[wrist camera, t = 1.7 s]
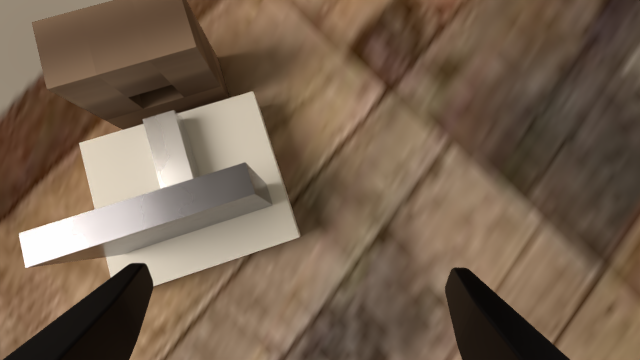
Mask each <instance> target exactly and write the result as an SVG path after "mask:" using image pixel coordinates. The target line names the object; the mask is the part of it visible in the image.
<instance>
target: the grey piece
mask: <svg viewBox="0 0 640 360" xmlns="http://www.w3.org/2000/svg"><path fill="white" fill-rule="evenodd" d="M142 120H143V124H144V127H145V131H146V135H147V139H148V142H149V146H150V150H151V154H152V157H153V161H154V165H155V169H156V172H157V176H158V180H159V184H160V188H161V189H159V190H155V191H152V192H149V193H146V194H143V195H140V196H136V197H133V198H130V199H127V200H124V201H120V202H117V203H114V204H111V205H108V206H105V207H101V208H98V209H95V210H92V211H89V212H85V213H82V214H79V215H76V216H73V217H70V218H66V219H63V220H60V221H57V222H54V223H51V224H47V225H44V226H41V227H38V228H35V229H31V230H28V231H25V232H22V233H19V237H20V242H21V247H22V252H23V257H24V262H25V267H26V268H28V267H36V266H43V265H51V264H58V263H65V262H73V261H80V260H88V259H95V258H103V257H110V256H117V255H122V254H125V253H129V252H132V251H135V250H138V249H141V248H144V247H147V246H150V245H153V244H156V243H159V242H162V241H165V240H168V239H171V238H174V237H178V236H181V235H184V234H187V233H190V232H193V231H196V230H199V229H202V228H205V227H208V226H211V225H214V224H217V223H220V222H223V221H227V220H230V219H233V218H236V217H239V216H242V215H245V214H248V213H251V212H254V211H257V210H260V209H263V208H266V207H269V206H273V204H272V200H271V197H270V194H269V191H268V188H267V184H266V183H265V182H264V181H263V180H262V179H261V178H260V177H259V176H258V175H257V174H256V173H255V172H254V171H253V169H252V168H251V167H250V166H249V165H248V164H247V163H246V162H244V163H241V164H238V165H235V166H232V167H229V168H225V169H222V170H219V171H216V172H213V173H209V174H206V175H203V176H199V173H198V169H197V166H196V162H195V158H194V155H193V151H192V148H191V144H190V141H189V137H188V134H187V130H186V127H185V123H184V120H183V118H182V117H181V116H180V115H179V114H178V113H177V112H176V111H174V110H172V111H169V112H166V113H162V114H159V115H155V116H152V117H149V118H145V119H142Z"/></svg>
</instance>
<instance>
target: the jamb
mask: <svg viewBox="0 0 640 360" xmlns="http://www.w3.org/2000/svg"><path fill="white" fill-rule="evenodd" d="M32 25H33V30H34V34H35V38H36V42H37V47H38V52H39V56H40V60H41V65H42V69H43V74H44V78H45V83H46V87H47V90H49V91H51V92H53V93H55V94H57V95H59V96H61V97H63V98H64V99H66V100H68V101H70V102H72V103H74V104H76V105H78V106H79V107H81V108H83V109H85V110H87V111H89V112H91V113H93V114H95V115H96V116H98V117H100V118H102V119H104V120H106V121H108V122H110V123H111V124H113V125H115V126H117V127H119V128H121V129H123V130H125V129H128V128H131V127H135V126H138V125H141V124H143V120H142V119H145V118H149V117H152V116H155V115H159V114H162V113H166V112H169V111H172V110H174V111H176V112H177V113H181V112H185V111H188V110H191V109H195V108H198V107H201V106H205V105H208V104H211V103H215V102H218V101H222V100H225V99H228V98H230V97H229V94H228V90H227V87H226V84H225V81H224V77H223V74H222V71H221V68H220V64H219V61H218V58H217V56H216V54H215V52H214V50H213V48H212V47H211V45H210V43H209V41H208V39H207V37H206V35H205V34H204V32H203V30H202V28H201V26H200V24H199V23H198V21H197V19H196V17H195V15H194V13H193V12H192V10H191V8H190V6H189V4H188V2H187V1H186V0H113V1H109V2H105V3H102V4H98V5H94V6H90V7H87V8H83V9H80V10H76V11H72V12H69V13H64V14H61V15H57V16H54V17H50V18H46V19H42V20H38V21H35V22H32Z"/></svg>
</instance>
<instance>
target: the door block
mask: <svg viewBox="0 0 640 360" xmlns="http://www.w3.org/2000/svg"><path fill="white" fill-rule="evenodd" d="M178 114H179V115H180V116H181V117H182V118H183V120H184V123H185V127H186V130H187V134H188V137H189V141H190V144H191V148H192V151H193V155H194V158H195V162H196V166H197V169H198V173H199V176H203V175H206V174H209V173H213V172H216V171H219V170H222V169H225V168H229V167H232V166H235V165H238V164H241V163H244V162H246V163H247V164H248V165H249V166H250V167H251V168H252V169H253V171H254V172H255V173H256V174H257V175H258V176H259V177H260V178H261V179H262V180H263V181H264V182H265V183H266V184H267V188H268V191H269V194H270V197H271V200H272V204H273V206H269V207H266V208H263V209H260V210H257V211H254V212H251V213H248V214H245V215H242V216H239V217H236V218H233V219H230V220H227V221H223V222H220V223H217V224H214V225H211V226H208V227H205V228H202V229H199V230H196V231H193V232H190V233H187V234H184V235H181V236H178V237H174V238H171V239H168V240H165V241H162V242H159V243H156V244H153V245H150V246H147V247H144V248H141V249H138V250H135V251H132V252H129V253H125V254H122V255H117V256H110V257H106V259H107V263H108V267H109V271H110V276H111V277H112V276H114V275H115V274H116V273H118V272H119V271H120V270H122V269H123V268H124V267H126V266H127V265H128V264H130V263H145V264H146V265H147V266H148V269H149V271H150V274H151V277H152V280H153V286H156V285H159V284H162V283H165V282H168V281H171V280H174V279H177V278H180V277H183V276H186V275H189V274H192V273H195V272H198V271H201V270H204V269H207V268H210V267H213V266H216V265H219V264H222V263H224V262H227V261H230V260H233V259H236V258H239V257H242V256H245V255H248V254H251V253H254V252H257V251H260V250H263V249H266V248H269V247H272V246H275V245H278V244H281V243H284V242H287V241H290V240H293V239H296V238H299V237H301V235H300V232H299V229H298V226H297V222H296V219H295V216H294V213H293V210H292V207H291V204H290V201H289V197H288V194H287V191H286V188H285V185H284V182H283V179H282V175H281V172H280V169H279V166H278V163H277V160H276V157H275V154H274V150H273V147H272V144H271V141H270V138H269V135H268V132H267V128H266V125H265V122H264V119H263V116H262V113H261V110H260V107H259V104H258V102H257V99H256V97H255V95H254V92H253V91H252V92H248V93H245V94H242V95H238V96H235V97H232V98H228V99H225V100H222V101H218V102H215V103H211V104H208V105H205V106H201V107H198V108H195V109H191V110H188V111H185V112H181V113H178ZM79 144H80V149H81V153H82V157H83V161H84V165H85V170H86V174H87V178H88V182H89V187H90V191H91V195H92V199H93V204H94V208H95V209H98V208H101V207H105V206H108V205H111V204H114V203H117V202H120V201H124V200H127V199H130V198H133V197H136V196H140V195H143V194H146V193H149V192H152V191H155V190H159V189H161V188H160V184H159V180H158V176H157V172H156V169H155V165H154V161H153V157H152V154H151V150H150V146H149V142H148V139H147V135H146V131H145V127H144V124H141V125H138V126H135V127H131V128H128V129H125V130H121V131H118V132H114V133H111V134H108V135H104V136H101V137H98V138H94V139H91V140H88V141H84V142H81V143H79Z"/></svg>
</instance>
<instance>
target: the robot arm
mask: <svg viewBox="0 0 640 360" xmlns="http://www.w3.org/2000/svg"><path fill="white" fill-rule="evenodd" d="M152 291H153V280H152V277H151V274H150V271H149V269H148V266H147V265H146V264H145V263H130V264H128V265H127V266H126V267H124V268H123V269H122V270H120V271H119V272H118V273H116V274H115V275H114V276H112V277H111V278H110V279H109V280H107V281H106V282H105V283H103V284H102V285H101V286H99V287H98V288H97V289H95V290H94V291H93V292H91V293H90V294H89V295H87V296H86V297H85V298H83V299H82V300H81V301H80V302H78V303H77V304H76V305H74V306H73V307H72V308H70V309H69V310H68V311H66V312H65V313H64V314H62V315H61V316H60V317H58V318H57V319H56V320H54V321H53V322H52V323H50V324H49V325H48V326H47V327H45V328H44V329H43V330H41V331H40V332H39V333H37V334H36V335H35V336H33V337H32V338H31V339H29V340H28V341H27V342H25V343H24V344H23V345H21V346H20V347H19V348H18V349H16V350H15V351H14V352H12V353H11V354H10V355H8V356H7V357H6V358H4V359H3V360H129V359H130V356H131V354H132V352H133V349H134V347H135V344H136V342H137V339H138V336H139V333H140V330H141V327H142V323H143V320H144V317H145V314H146V310H147V307H148V304H149V300H150V297H151V294H152ZM445 293H446V297H447V302H448V306H449V311H450V315H451V319H452V324H453V328H454V333H455V337H456V341H457V345H458V348H459V351H460V354H461V357H462V360H570V359H569V358H568V357H566V356H565V355H564V354H563V353H562V352H561V351H560V350H559V349H558V348H556V347H555V346H554V345H553V344H552V343H551V342H550V341H549V340H547V339H546V338H545V337H544V336H543V335H542V334H541V333H540V332H538V331H537V330H536V329H535V328H534V327H533V326H532V325H531V324H529V323H528V322H527V321H526V320H525V319H524V318H523V317H522V316H521V315H519V314H518V313H517V312H516V311H515V310H514V309H513V308H512V307H510V306H509V305H508V304H507V303H506V302H505V301H504V300H503V299H501V298H500V297H499V296H498V295H497V294H496V293H495V292H494V291H492V290H491V289H490V288H489V287H488V286H487V285H486V284H485V283H484V282H482V281H481V280H480V279H479V278H478V277H477V276H476V275H475V274H473V273H472V272H471V271H470V270H469V269H467V268H453V269H452V270H451V272H450V275H449V277H448V280H447V283H446V286H445Z"/></svg>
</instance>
